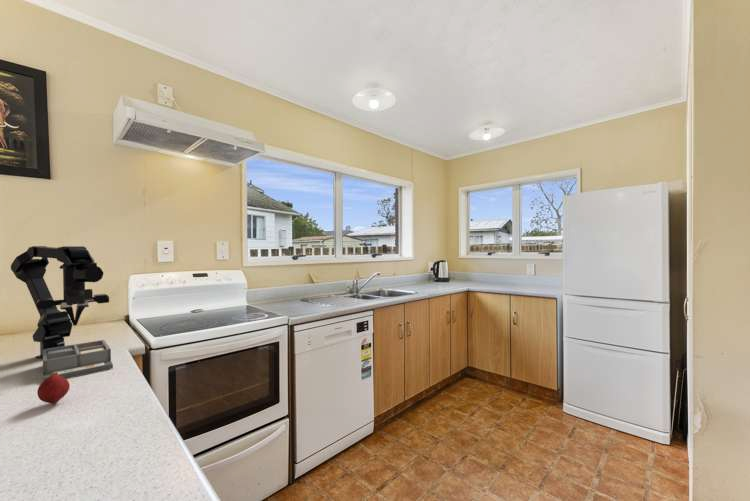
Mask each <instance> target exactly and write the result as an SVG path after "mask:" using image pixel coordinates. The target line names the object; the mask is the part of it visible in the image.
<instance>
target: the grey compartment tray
mask: <svg viewBox="0 0 750 501" xmlns="http://www.w3.org/2000/svg"><path fill="white" fill-rule="evenodd" d="M68 348H72V349H73V350H68V351H62V352H56V353H50V354H48V352H50V351H56V350H62V349H68ZM99 348H104V350H100V351H94V352H88V353H83V354H80V352H81V351H87V350H93V349H99ZM111 350H112V349H111V348H110V346H109V345H108V343H107V342H106V341H105V339H101V340H94V341H87V342H82V343H81V342H80V343H75V344H68V345H65V346H62V347H55V348H49V349H43V358H42V372H43V377H42V378H43V381H44V380H45V379H47V378H48V377H49V376H50V375H51V374H52V373H54V372H57V373H58V376H62V377H64V378H65V379H68V378H69V379H70V378H74V377H79V376H84V375H88V374H93V373H97V372H102V371H107V370H112V369H113V368H114V364H113V362H112V355H111V354H112V351H111Z"/></svg>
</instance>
